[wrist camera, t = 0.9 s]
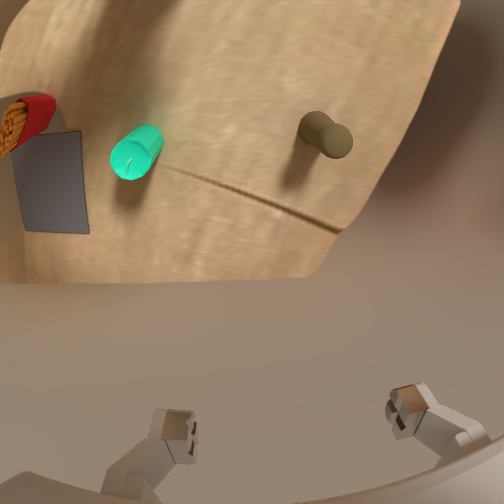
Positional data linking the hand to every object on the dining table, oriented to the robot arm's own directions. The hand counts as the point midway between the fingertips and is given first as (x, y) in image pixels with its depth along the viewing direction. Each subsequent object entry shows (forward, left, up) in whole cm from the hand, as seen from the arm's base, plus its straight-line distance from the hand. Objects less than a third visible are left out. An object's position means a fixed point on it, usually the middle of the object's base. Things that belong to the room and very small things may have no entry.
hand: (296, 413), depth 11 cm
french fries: (-4, -34, -45) cm, 57 cm away
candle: (+2, -14, -45) cm, 48 cm away
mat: (+10, -34, -45) cm, 58 cm away
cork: (-3, +14, -45) cm, 47 cm away
